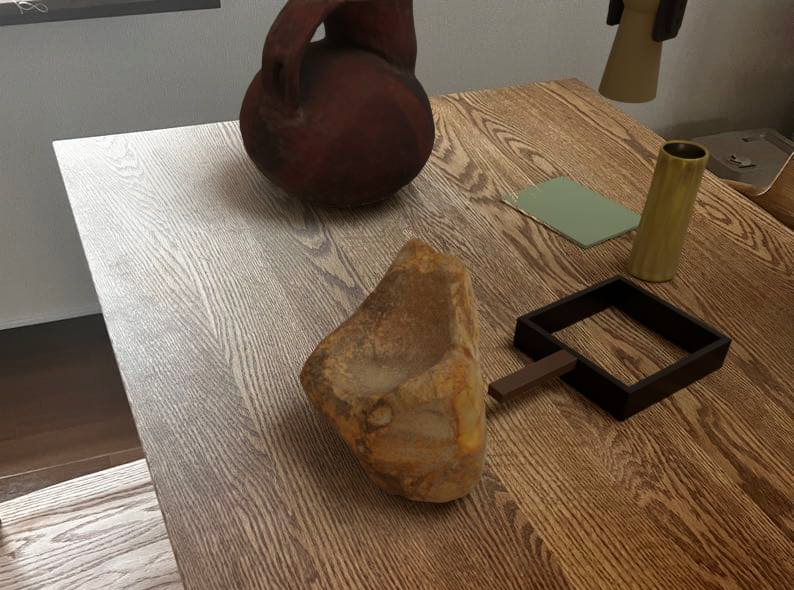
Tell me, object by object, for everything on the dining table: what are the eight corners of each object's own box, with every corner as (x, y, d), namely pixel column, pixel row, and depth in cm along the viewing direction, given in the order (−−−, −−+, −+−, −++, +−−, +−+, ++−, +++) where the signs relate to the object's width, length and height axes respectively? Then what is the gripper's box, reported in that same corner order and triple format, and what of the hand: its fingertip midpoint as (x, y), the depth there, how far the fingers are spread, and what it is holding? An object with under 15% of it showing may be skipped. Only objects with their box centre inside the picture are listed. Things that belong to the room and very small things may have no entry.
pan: (611, 301, 95) (618, 273, 92) (721, 367, 86) (732, 339, 84) (440, 378, 84) (442, 349, 81) (547, 462, 76) (553, 433, 73)
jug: (210, 182, 112) (181, -35, 94) (350, 135, 124) (348, -65, 106) (326, 253, 100) (318, 20, 82) (468, 194, 112) (489, -22, 94)
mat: (562, 178, 116) (563, 175, 116) (649, 223, 108) (650, 220, 107) (499, 200, 111) (500, 196, 111) (585, 249, 103) (586, 245, 102)
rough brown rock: (314, 362, 86) (293, 230, 75) (472, 354, 86) (475, 219, 74) (300, 529, 71) (271, 394, 60) (492, 520, 71) (499, 383, 59)
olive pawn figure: (642, 80, 88) (670, -42, 80) (666, 101, 84) (698, -25, 76) (589, 83, 87) (612, -41, 79) (610, 104, 83) (637, -23, 75)
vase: (644, 287, 97) (679, 165, 86) (614, 262, 101) (644, 142, 90) (686, 277, 99) (725, 156, 88) (655, 253, 102) (689, 134, 92)
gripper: (811, -206, 65) (735, 48, 79) (644, -229, 74) (601, 3, 88) (755, -201, 62) (685, 63, 76) (588, -225, 71) (552, 15, 84)
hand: (641, 29), depth 82 cm, fingers closed on olive pawn figure, 5 cm apart
